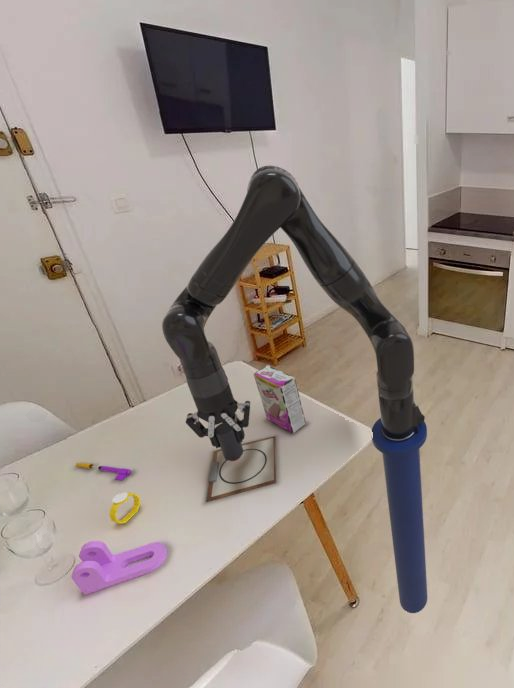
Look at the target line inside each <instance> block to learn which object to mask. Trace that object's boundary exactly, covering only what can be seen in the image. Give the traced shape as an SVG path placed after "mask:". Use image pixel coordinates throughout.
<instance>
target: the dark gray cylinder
mask: <svg viewBox="0 0 514 688" xmlns="http://www.w3.org/2000/svg"><path fill="white" fill-rule="evenodd" d="M214 432H215V435H216V437H217V440H218V442H219V445H220V447H219V449H221V450H222V453H223V456H224V458H225V459H226V460H229V461H236V460H238V459H239V458H240V457H241V455H242V454H243V447H242V445H241V444H242V442H240V443H239V441H238V439H237V436H236V433H235V429H234V428H233V427H232V426H230V425H229V424H228V423H227V422H226V423H220V424H217V425H216V426H215V430H214Z"/></svg>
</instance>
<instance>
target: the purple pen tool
mask: <svg viewBox="0 0 514 688" xmlns="http://www.w3.org/2000/svg"><path fill="white" fill-rule="evenodd" d="M74 466H76V467H79V468H84V469H89V470H92V469H93V468H95V469H98V470H100V471H104V472H111V473H117V475H116V476H115V478H114V479H115V480H117V481H123V480H124V479H125V477H128V476H129V475H131V474H132V470H131V469H130V468H129V469H128V468H119V467H113V466H106V465H99V466H95V465H94V464H93V463H86V462H85V463H84V462H76V463H75V464H74Z"/></svg>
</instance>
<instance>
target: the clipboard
mask: <svg viewBox="0 0 514 688" xmlns="http://www.w3.org/2000/svg"><path fill="white" fill-rule="evenodd" d="M241 445H242V447H243V454H242V455H241V457H240V458H239V459H238V460H236V461H229V460H226V459H225V458H224V456H223V453H222V450H221V448H219V449H216V450H213V454H212V460H211V463H210V468H209V476H208V479H207V480H208V487H207V491H206V492H207V493H206V498H205V499H206V500H205V502H206V503H208V502H212V501H217V500H219V499H223V498H227V497H231V496H234V495H237V494H241V493H245V492H248V491H251V490H255V489H260V488H262V487H266V486H269V485H273V484H276V483H277V463H276V461H277V459H276V436H275V435H274V436H269V437H266V438H261V439H258V440H253V441H249V442H245V443H241Z"/></svg>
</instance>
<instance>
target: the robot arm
mask: <svg viewBox="0 0 514 688" xmlns="http://www.w3.org/2000/svg"><path fill="white" fill-rule="evenodd" d="M280 229H281V230H282V231H283V232H284V233H285V234H286V236H287V237H288V238H289V239H290V241H291V242H292V244H293V245H294V247H295V248H296V250H297V252H298V254H299V255H300V258H301V259H302V261H303V263H304V264H305V266H306V268H307V269H308V271H309V272H310V274H311V276H312V277H313V279H314V280H315V281H316V283H317V284H318V285H319V286H320V287H321V289H322V290H323V291H324V292H325V293H326V295H327V296H328V297H329V298H330V299H331V300H332V301H333V302H334V303H335V304H336V305H337V306H338V307H339V308H341V309H342V310H344V311H345V312H347V313H348V314H349V315H351V316H352V317H353V318H354V319H355V320H356V321H357V323H358V324H359V325H360V326H361V328H362V330H363V331H364V333H365V334H366V336H367V338H368V339H369V341H370V344H371V346H372V349H373V351H374V353H375V357H376V358H375V359H376V367H377V371H376V376H375V377H376V385H377V394H378V402H379V403H378V404H379V411H380V418H381V421H382V433H383V436H384V437H385V438H386V439H388V440H390V441H393V442H402V441H406V440H408V439H410V438H411V437H412V436H413V435H414V434H416V433H418V426H417V425H419V424H423V421H424V422H425V420H426V419H425V415H424V414H423V413H422V411H421V409H420V407H419V406H418V405H417V404H416V403H415V397H414V381H413V376H414V374H415V349H414V343H413V340H412V338H411V336H410V335H409V333H408V331H407V330H406V328H405V326H404V325H403V324H402V323H401V322H400V321H399V320H398V319H397V318H396V317H395V316H394V315H393V314H392V313H391V312H390V310H388V308H387V307H385V305H384V304H383V303H382V302H381V300H380V299H379V297H378V296H377V293H376V292H375V289H374V287H373V286H372V284H371V282H370V281H369V279H368V277H367V276H366V274H365V273H364V271H363V270H362V269H361V267H360V266H359V265H358V263H357V262H356V260H355V259H354V258H353V256H351V254H350V253H349V251H347V249H346V248H345V247H344V246H343V245H342V243H341V242H340V241H339V240H338V239H337V238H336V236H335V235H334V234H333V233H332V232H331V231H330V230H329V229H328V227H326V226H325V224H324V223H323V222H322V221H321V219H320V218H319V217H318V215H317V214H316V212H315V211H314V209H313V208H312V206H311V205H310V203H309V201H308V200H307V198H306V195H304V192H303V191H302V189H301V187H300V185H299V184H298V182H297V180H296V178H295V177H294V176H293V174H291V172H289V171H288V170H286V169H284V168H282V167H280V166H277V165H264V166H261V167H259V168H257V169H256V170H255V171H254V172H253V173H252V175H251V177H250V179H249V181H248V184H247V188H246V194H245V197H244V199H243V202H242V204H241V206H240V208H239V211H238V213H237V214H236V217H235V219H234V221H233V222H232V224H231V225H230V227H229V228H228V230H227V231H226V232H225V233H224V235H223V236H222V237H220V238H221V239H219V240H218V242H216V244H215V245H214V246H213V247H212V248H211V249H210V251H209V252H208V253H207V254H206V255H205V257H204V259H203V260H202V261H201V263H200V264H199V265H198V267H197V269H196V270H195V272H194V273H193V274H192V275H191V277H190V279H189V281H188V283H187V285H186V286H185V288H183V290H182V291H181V292H180V294H179V295H178V296H177V297H176V299H174V301H173V302H172V304H171V305H170V307H169V308H168V310H167V312H166V314H165V316H164V317H163V319H162V322H161V329H162V330H161V331H162V334H163V337H164V339H165V341H166V343H167V344H168V346H169V347H170V349H171V350H172V352H173V353H174V354H175V355H176V357H177V358H178V359H179V362H180V365H181V368H182V369H183V372H184V375H185V379H186V384H187V387H188V389H189V392H190V394H191V397H192V400H193V403H194V405H195V407H196V409H197V411H196V412H194V413H191V412H189V413H187V414H186V418H185V424H186V425H187V426H188V427H189V428H190V429H191V430H192V431H193V432H194V433H195V434H196V436H198V437H199V438H202V439H203V438H204V437H208V438H209V441H210V443H211V445H212V447H215V449H220V445H219V442H218V440H217V437H216V435H215V432H214V430H215V428H216V426H218V425H219V424H221V423H226V422H227V423H228V424H229V425H230V426H232V427H233V428H234V429H235V433H236V436H237V439H238V441H239V443H240V442H241V443H243V441H244V440H245V436H246V435H245V433H246V432H245V431H244V428H248V427H249V424H250V412H251V401H250V400H245V401H244V402H238V401H237V400H235V398H234V395H233V392H232V389H231V385H230V383H229V378H228V375H227V374H226V371H225V369H224V367H223V365H222V363H221V359H220V357H219V353H218V351H217V349H216V347H215V345H214V344H213V343H212V342H211V341H208V339H207V336H206V333H205V326H206V324H207V322H208V319H209V318H210V316H211V314H212V313H213V312H214V310H215V309H216V307H217V306H219V305H220V304H222V303H223V301H225V299H227V297H228V295H229V294H230V292H231V291H232V290H233V288H234V287H235V285H236V284H237V283H238V281H239V280H240V278H241V277H242V275H243V273H244V272H245V271H246V270H247V268H248V266H249V265H250V264H251V262H252V260H253V259H254V258H255V256H256V255H257V253H259V251H260V250H261V249H262V247H263V246H264V245H265V244H266V243H267V241H268V240H269V239H270V238H271V237H272V236H273V235H274V234H275V233H277V231H278V230H280ZM238 410H240V413H242V414H243V418H242V419H240V418H239V417H238V415H237V411H238ZM200 419H201V420H202V421H204V422H207V423H208V424H207V426H208V427H205V426H204V424H203V423H202V422H201V420H200Z"/></svg>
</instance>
